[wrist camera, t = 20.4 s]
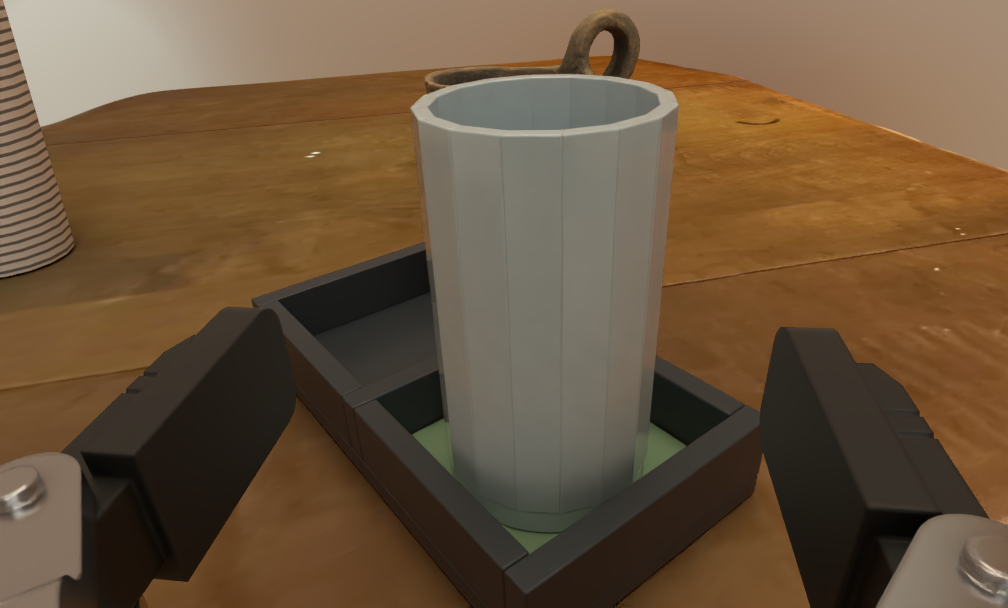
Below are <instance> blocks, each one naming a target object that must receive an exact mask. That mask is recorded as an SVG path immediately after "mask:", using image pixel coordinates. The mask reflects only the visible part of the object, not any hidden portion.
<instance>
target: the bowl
mask: <svg viewBox="0 0 1008 608" xmlns="http://www.w3.org/2000/svg"><path fill="white" fill-rule="evenodd" d="M603 30H606V31H609V32H610V33H611V34H612V36H613V38H614V50H613V55H612V59H611V61H610V63H609V65H608V67H607V68H606V70H605V72H604V73H603V75H602V76H612V77H619V78H625V79H629V78H630V76H631V75H632V73H633V71H634V68H635V65H636V62H637V59H638V56H639V51H640V38H639V34H638V30H637V28H636V26H635V24H634V23H633V21H632V20H631V19H630V18H629V17H628V16H627V15H626V14H624V13H622V12H620V11H618V10H613V9H601V10H598V11H596V12H594V13H591V14H589V15H588V16H587V17H586V18H585V19H584V20H583V21H582V22H581V23H580V24H579V25H578V26H577V28H576V29H575V30H574V32H573V33H572V35H571V38H570V41H569V45H568V48H567V51H566V54H565V56H564V59H563V61H562V63H561V65H558V66H549V67H524V68H523V67H494V66H491V67H468V68H454V69H448V70H443V71H438V72H433V73H430V74H428V75H427V76H426V77H425V86H426V90H427V94H429V93H432V92H434V91H437V90H440V89H443V88H446V87H448V86H452V85H457V84H462V83H467V82H473V81H478V80H483V79H489V78H500V77H510V76H521V75H542V74H581V75H595V74H594V73H593V72H592V70H591V68H590V64H589V59H588V58H589V50H590V46H591V45H592V43H593V40H594V39H595V37H596V36H597V35H598V34H599V32H601V31H603Z"/></svg>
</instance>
